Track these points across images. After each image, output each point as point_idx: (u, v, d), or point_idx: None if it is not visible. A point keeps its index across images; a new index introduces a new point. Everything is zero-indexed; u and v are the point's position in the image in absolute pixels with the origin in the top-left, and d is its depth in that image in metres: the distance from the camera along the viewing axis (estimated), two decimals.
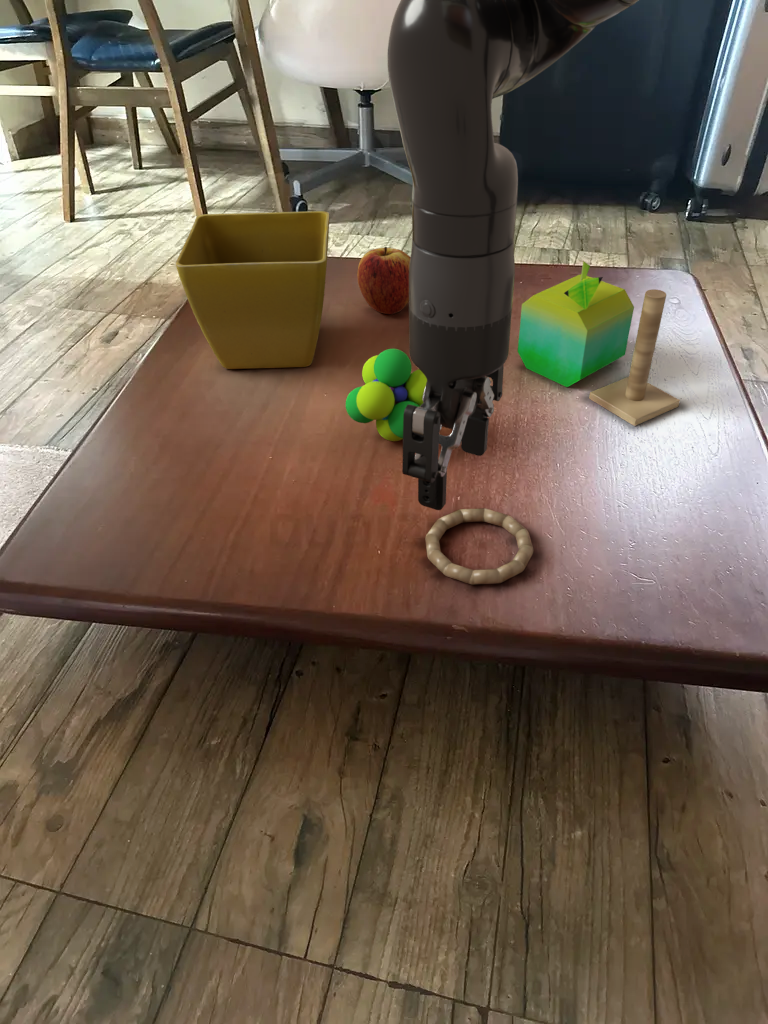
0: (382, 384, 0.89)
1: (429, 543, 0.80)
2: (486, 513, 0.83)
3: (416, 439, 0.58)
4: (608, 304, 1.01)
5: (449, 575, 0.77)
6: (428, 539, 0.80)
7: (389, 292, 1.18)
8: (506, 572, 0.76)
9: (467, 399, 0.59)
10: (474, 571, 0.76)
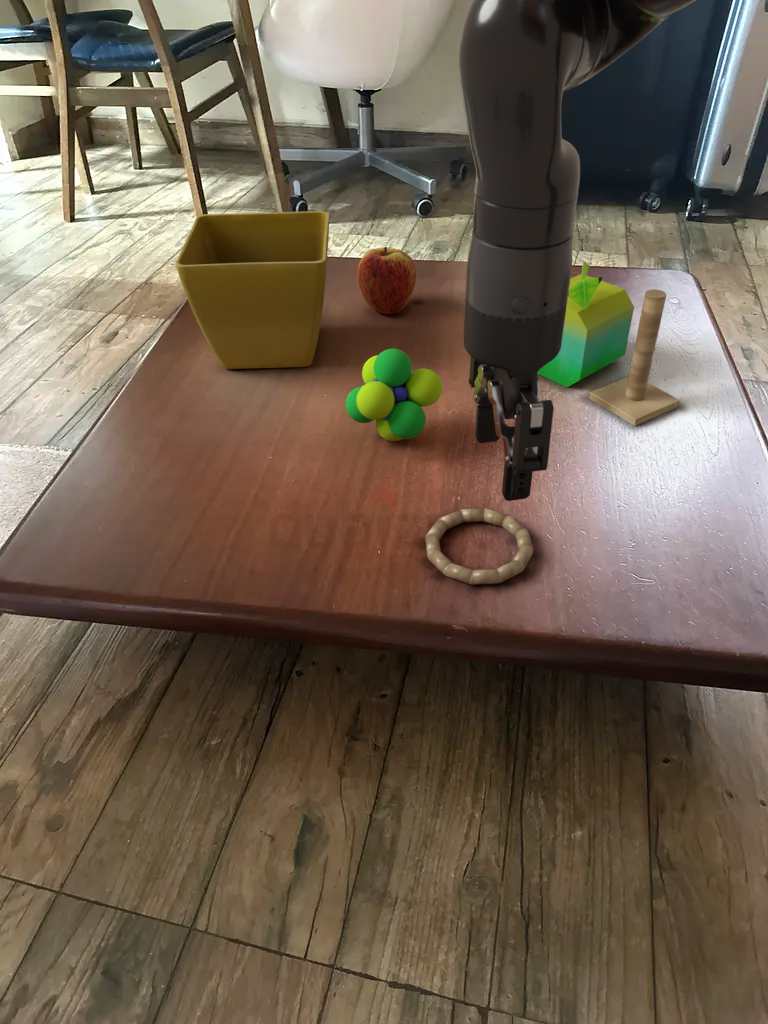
0: (382, 384, 0.89)
1: (429, 543, 0.80)
2: (486, 513, 0.83)
3: (532, 433, 0.58)
4: (608, 304, 1.01)
5: (449, 575, 0.77)
6: (428, 539, 0.80)
7: (389, 292, 1.18)
8: (506, 572, 0.76)
9: None
10: (474, 571, 0.76)
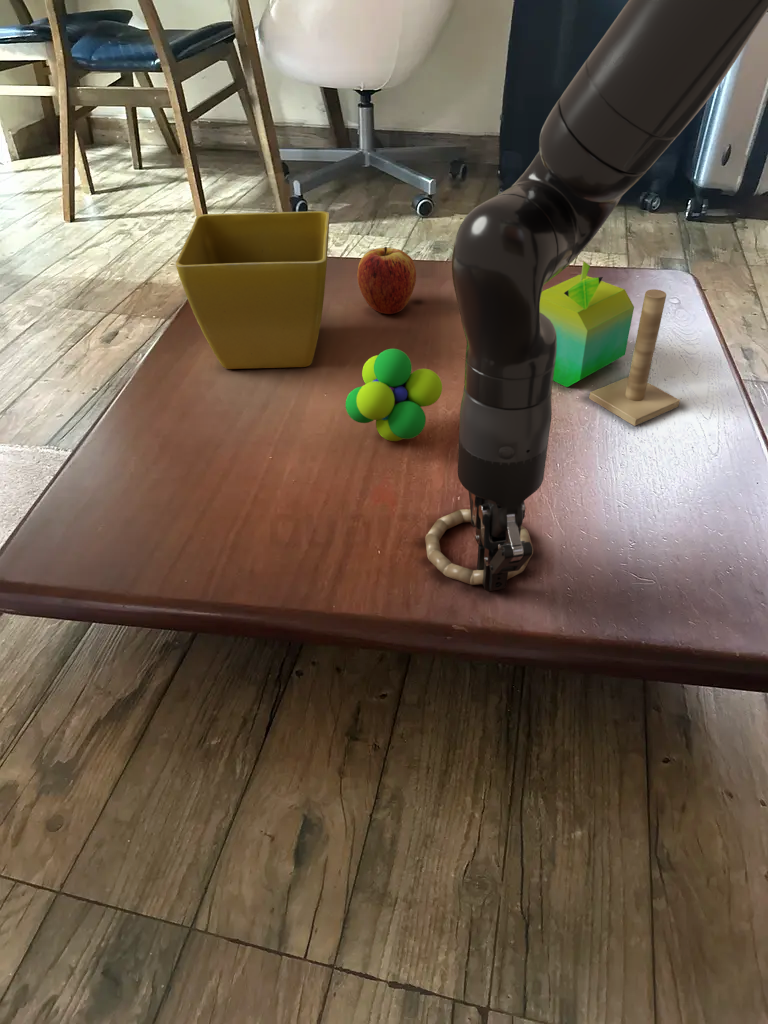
0: (382, 384, 0.89)
1: (429, 543, 0.80)
2: None
3: (510, 561, 0.68)
4: (608, 304, 1.01)
5: (449, 575, 0.77)
6: (428, 539, 0.80)
7: (389, 292, 1.18)
8: None
9: None
10: (474, 571, 0.76)
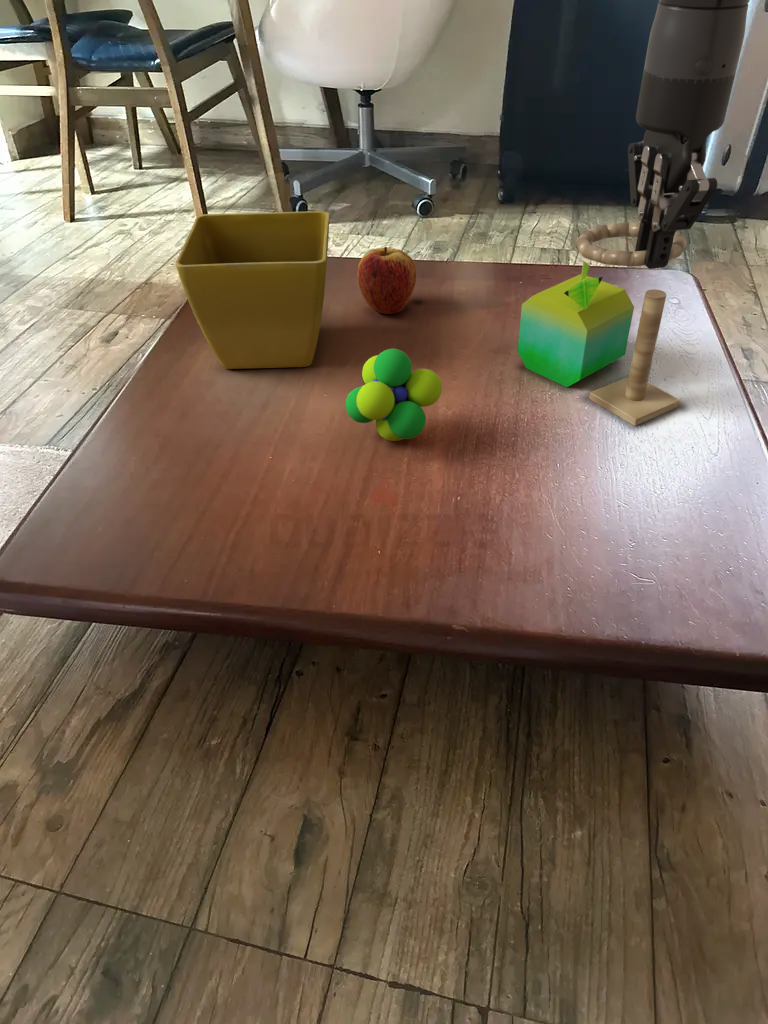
0: (382, 384, 0.89)
1: (582, 242, 0.81)
2: (631, 225, 0.84)
3: (690, 204, 0.69)
4: (608, 304, 1.01)
5: (608, 260, 0.78)
6: (580, 241, 0.81)
7: (389, 292, 1.18)
8: None
9: None
10: None
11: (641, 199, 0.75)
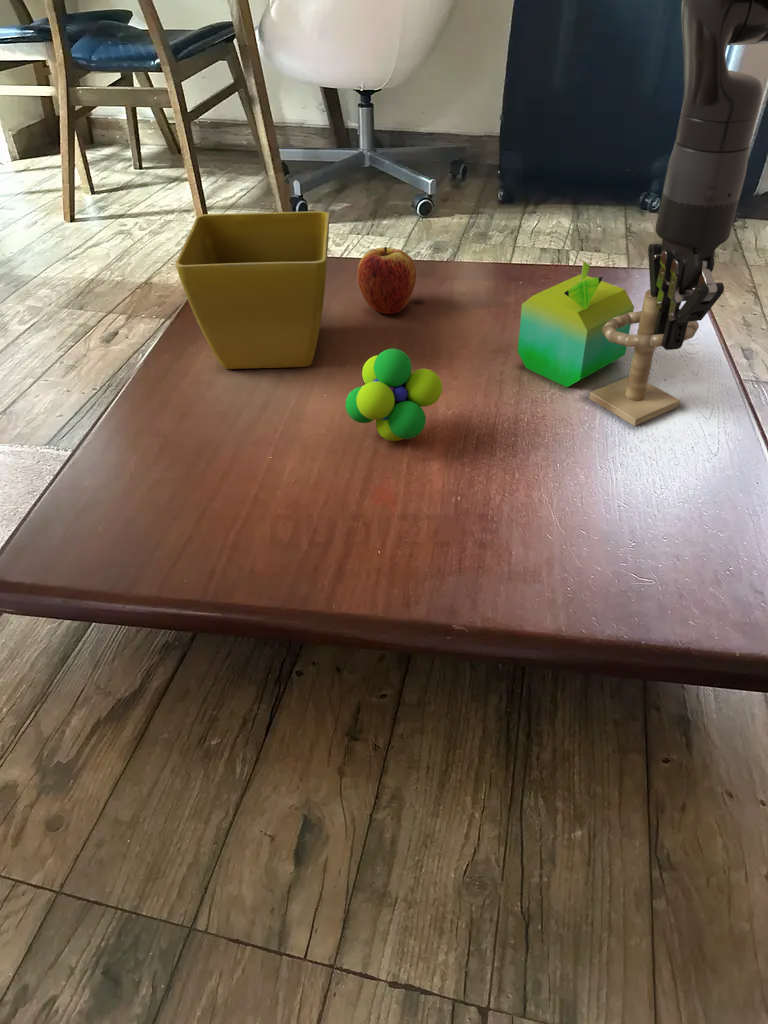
0: (382, 384, 0.89)
1: (607, 329, 0.94)
2: None
3: (701, 303, 0.82)
4: (608, 304, 1.01)
5: (631, 343, 0.91)
6: (605, 328, 0.95)
7: (389, 292, 1.18)
8: None
9: None
10: (652, 335, 0.90)
11: (659, 292, 0.89)
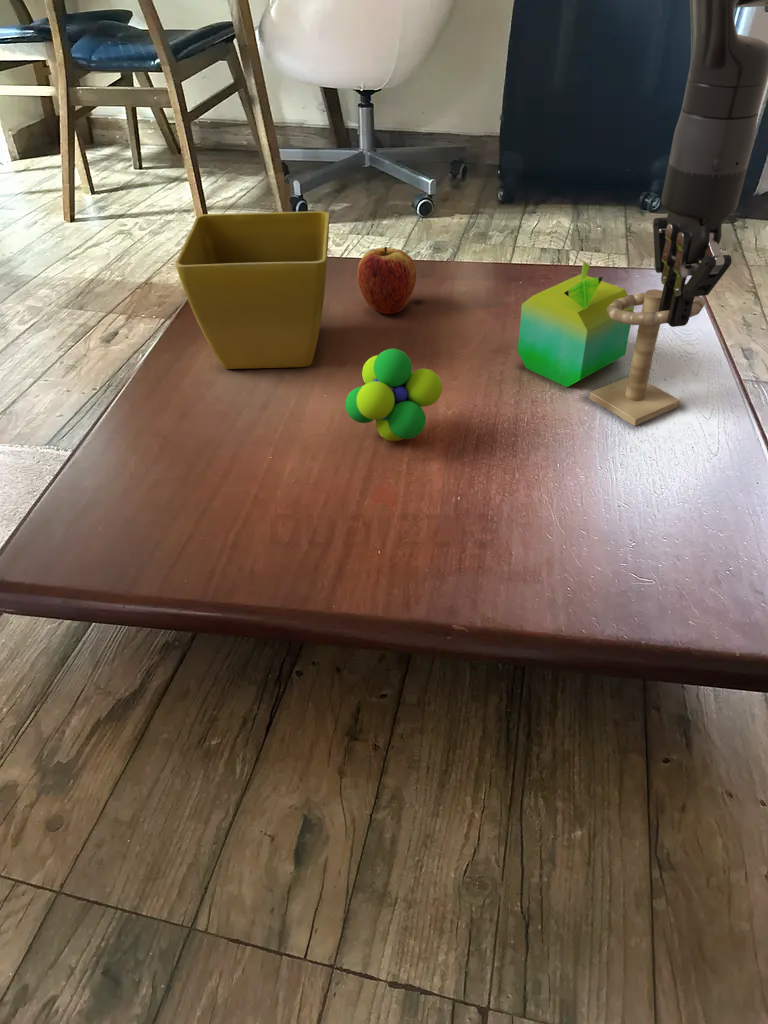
0: (382, 384, 0.89)
1: (611, 309, 0.93)
2: None
3: (708, 276, 0.80)
4: (608, 304, 1.01)
5: (635, 321, 0.89)
6: (609, 308, 0.93)
7: (389, 292, 1.18)
8: None
9: None
10: (657, 312, 0.89)
11: (664, 267, 0.87)
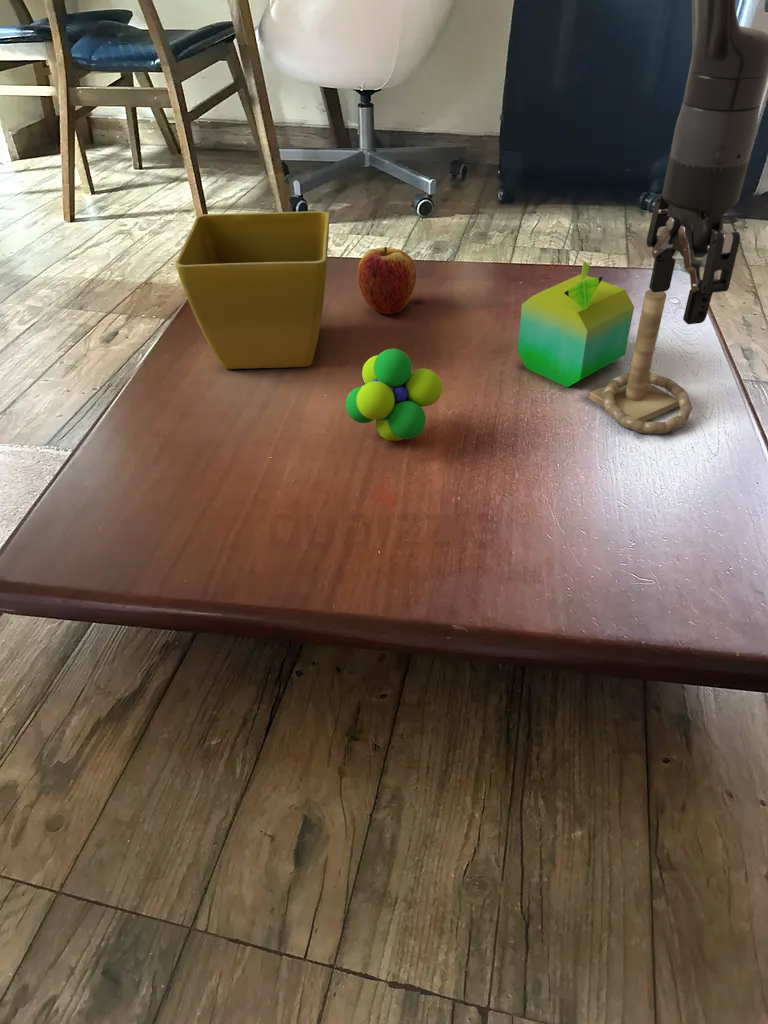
0: (382, 384, 0.89)
1: (607, 398, 0.98)
2: (652, 376, 1.01)
3: (721, 258, 0.78)
4: (609, 304, 1.01)
5: (624, 425, 0.96)
6: (606, 395, 0.99)
7: (389, 292, 1.18)
8: (672, 425, 0.95)
9: None
10: (646, 423, 0.95)
11: (658, 243, 0.87)
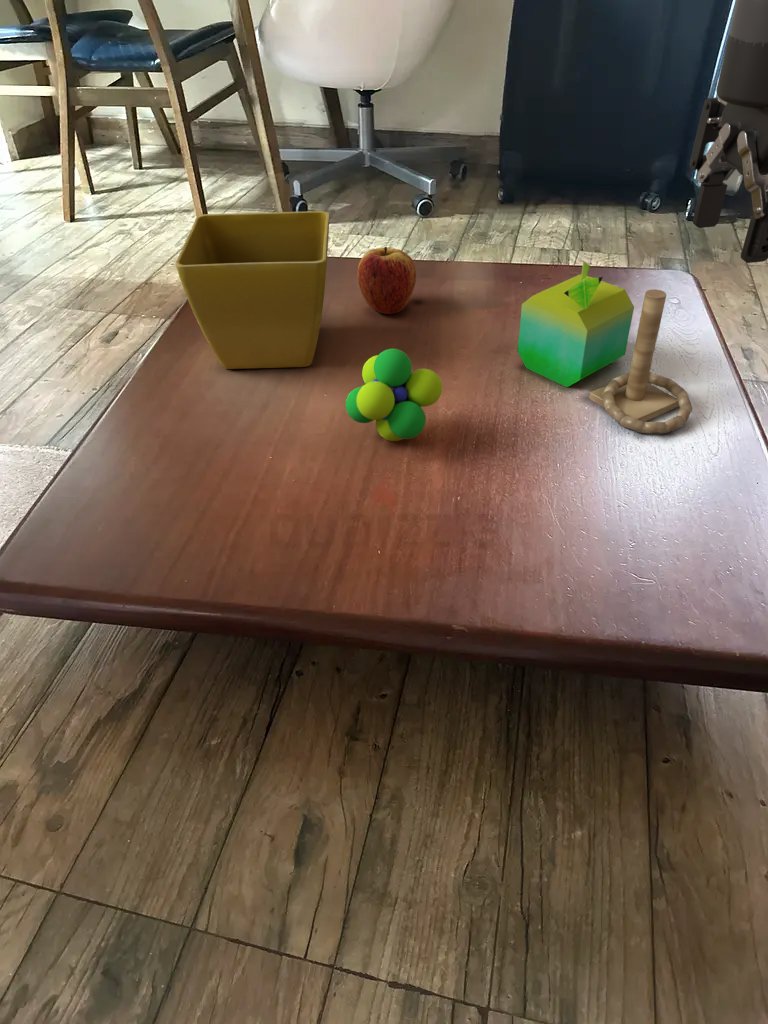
0: (382, 384, 0.89)
1: (607, 398, 0.98)
2: (652, 376, 1.01)
3: None
4: (609, 304, 1.01)
5: (624, 425, 0.96)
6: (606, 395, 0.99)
7: (389, 292, 1.18)
8: (672, 425, 0.95)
9: None
10: (646, 423, 0.95)
11: (706, 163, 0.69)
